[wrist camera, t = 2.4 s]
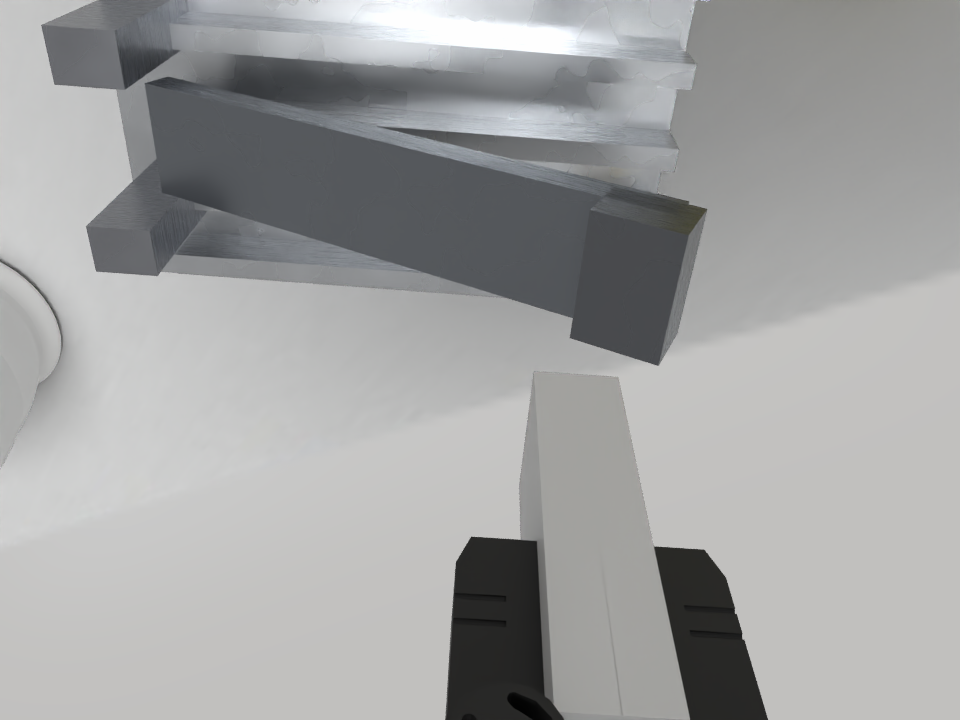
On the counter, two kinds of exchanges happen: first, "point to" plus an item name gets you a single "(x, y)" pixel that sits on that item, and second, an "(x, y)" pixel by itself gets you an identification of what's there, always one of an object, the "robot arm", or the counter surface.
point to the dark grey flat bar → (438, 210)
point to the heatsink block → (377, 104)
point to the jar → (22, 351)
